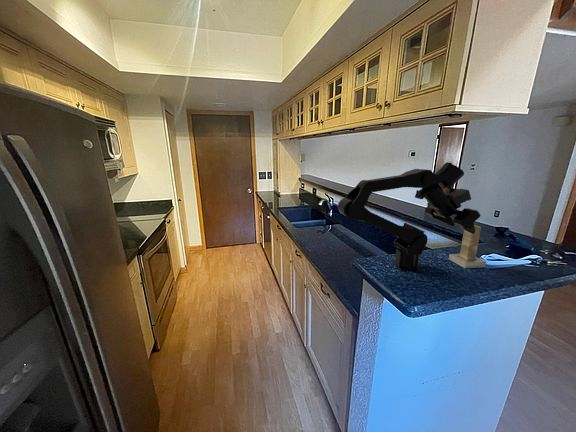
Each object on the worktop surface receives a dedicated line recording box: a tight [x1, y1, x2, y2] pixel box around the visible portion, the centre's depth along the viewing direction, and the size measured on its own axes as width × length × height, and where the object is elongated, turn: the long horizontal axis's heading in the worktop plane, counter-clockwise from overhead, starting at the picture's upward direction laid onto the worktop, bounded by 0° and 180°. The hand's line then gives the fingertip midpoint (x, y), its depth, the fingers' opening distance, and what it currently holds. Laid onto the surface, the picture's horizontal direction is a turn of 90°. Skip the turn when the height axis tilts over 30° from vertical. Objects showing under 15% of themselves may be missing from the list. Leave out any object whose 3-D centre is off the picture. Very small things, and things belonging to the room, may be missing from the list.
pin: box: [459, 224, 482, 261], centre depth 85 cm, size 3×3×14 cm
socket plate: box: [448, 253, 487, 269], centre depth 86 cm, size 8×8×2 cm
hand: (463, 229), depth 83 cm, fingers open, 9 cm apart
